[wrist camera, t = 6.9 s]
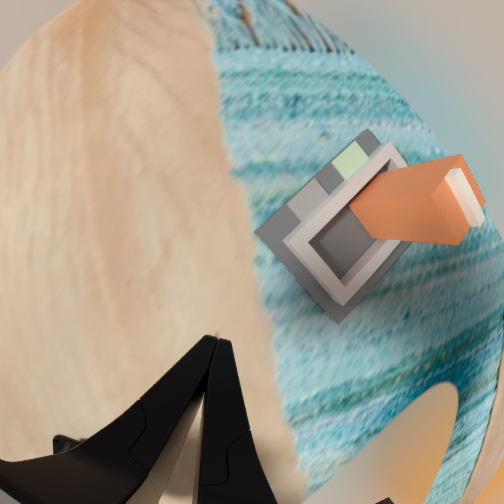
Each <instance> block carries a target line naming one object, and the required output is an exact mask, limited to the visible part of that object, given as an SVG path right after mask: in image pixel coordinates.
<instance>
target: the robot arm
mask: <svg viewBox="0 0 504 504" xmlns="http://www.w3.org/2000/svg"><path fill="white" fill-rule="evenodd" d="M204 393H205V394H204ZM203 397H204V399H203ZM202 399H203V406H202V414H201V423H200V432H199V440H198V449H197V459H196V468H195V478H194V488H193V499H192V504H278V503H277V501H276V499H275V497H274V495H273V492H272V490H271V488H270V485H269V483H268V481H267V478H266V476H265V474H264V471H263V469H262V466H261V464H260V461H259V458H258V455H257V452H256V449H255V445H254V442H253V437H252V433H251V430H250V425H249V421H248V417H247V412H246V408H245V403H244V399H243V395H242V390H241V385H240V381H239V376H238V372H237V367H236V362H235V357H234V353H233V348H232V343H231V341H230V340H226V339H222V338H219V339H218V338H217V337H215V336H211V335H204V336H203V337H202V338H201V339H200V340H199V341H198V342H197V343H196V344H195V345H194V346H193V347H192V348H191V349H190V350H189V351H188V352H187V353H186V354H185V355H184V356H183V357H182V358H181V359H180V360H179V361H178V362H177V363H176V364H175V365H174V366H173V367H172V368H170V369H169V370H168V371H167V372H166V373H165V374H164V375H163V376H162V377H161V378H160V379H159V380H158V381H157V382H156V383H155V384H154V385H153V386H152V387H151V388H150V389H149V390H148V391H147V392H146V393H144V394H143V395H142V396H141V397H140V400H137V401H136V402H135V403H134V404H133V405H132V406H131V407H129V408H128V409H127V410H126V411H125V412H124V413H123V414H121V415H120V416H119V417H118V418H116V419H115V420H114V421H112V422H111V423H110V424H108V425H107V426H106V427H104V428H103V429H101V430H100V431H98V432H97V433H95V434H94V435H93V436H91V437H90V438H88V439H87V440H85V441H84V442H82V443H81V444H78V443H75V442H72V441H70V440H67V439H65V438H62V437H60V436H54V438H53V455H49V456H44V457H39V458H34V459H29V460H24V461H17V462H9V461H4V460H1V459H0V504H158V503H159V500H160V498H161V496H162V493H163V491H164V489H165V487H166V484H167V482H168V480H169V477H170V475H171V473H172V470H173V468H174V466H175V463H176V461H177V459H178V456H179V454H180V452H181V449H182V447H183V445H184V442H185V440H186V438H187V435H188V433H189V431H190V428H191V426H192V424H193V421H194V419H195V416H196V414H197V412H198V409H199V407H200V405H201V402H202ZM57 440H58V441H57Z"/></svg>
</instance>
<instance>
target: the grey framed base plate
mask: <svg viewBox="0 0 504 504" xmlns="http://www.w3.org/2000/svg"><path fill="white" fill-rule="evenodd" d="M407 166H408V165H407V164H406V162H405V161H404V159H403V158H402V157H401V155H400V154H399V152H398V151H397V149H396V148H395V147H394V145H393V144H392V143H391V141H389V142H386V143H384V144H381V145H380V144H379V142H378V141H377V140H376V138H375V137H374V136H373V134H372V133H371V132H370V130H369V129H366V130H364V131H362V132H361V133H360V134H359V135H358V136H357V137H356V138H355V139H354V140H353V141H352V142H350V143H349V144H348V145H347V146H346V147H345V148H344V149H343V150H342V151H341V152H339V153H338V154H337V155H336V156H335V157H334V158H333V159H332V160H331V161H330V162H329V163H328V164H326V165H325V166H324V167H323V168H322V169H321V170H320V171H319V172H318V173H317V174H316V175H314V176H313V177H312V178H311V179H310V180H309V181H308V182H307V183H306V184H305V185H304V186H303V187H302V188H300V189H299V190H298V191H297V192H296V193H295V194H294V195H293V196H292V197H291V198H290V199H289V200H288V201H286V202H285V203H284V204H283V205H282V206H281V207H280V208H279V209H278V210H277V211H276V212H275V213H274V214H272V215H271V216H270V217H269V218H268V219H267V220H266V221H265V222H264V223H263V224H262V225H261V226H260V227H259V228H258V229H256V230H255V231H254V233H255V234H256V235H257V236H258V237H259V238H260V239H261V240H262V242H263V243H264V244H265V245H266V246H267V247H268V248H269V249H270V250H271V252H272V253H273V254H274V255H275V256H276V257H277V258H278V259H279V260H280V262H281V263H282V264H283V265H284V266H285V267H286V268H287V269H288V271H289V272H290V273H291V274H292V275H293V276H294V277H295V278H296V280H297V281H298V282H299V283H300V284H301V285H302V286H303V287H304V289H305V290H306V291H307V292H308V293H309V294H310V295H311V296H312V298H313V299H314V300H315V301H316V302H317V303H318V304H319V305H320V307H321V308H322V309H323V310H324V311H325V312H326V313H327V315H328V316H329V317H330V318H331V319H332V320H333V321H334V322H335V323H336V324H339V323H340V322H341V321H342V320H343V319H344V318H345V317H346V316H347V315H348V314H349V313H350V312H351V311H352V310H353V308H354V307H355V306H356V305H357V304H358V303H359V302H360V301H361V300H362V299H363V298H364V297H365V295H366V294H367V293H368V292H369V291H370V290H371V289H372V288H373V287H374V285H375V284H376V283H377V282H378V281H379V280H380V279H381V277H382V276H383V275H384V274H385V273H386V272H387V270H388V269H389V268H390V267H391V266H392V265H393V263H394V262H395V261H396V260H397V259H398V257H399V256H400V255H401V254H402V253H403V251H404V250H405V249H406V248H407V247H408V245H409V244H410V243H411V242H412V241H401V240H389V239H376V238H372V237H371V236H370V234H369V233H368V232H367V230H366V229H365V228H364V226H363V225H362V224H361V222H360V221H359V220H358V218H357V217H356V216H355V214H354V213H353V212H352V210H351V209H350V208H349V206H348V205H347V204H348V203H349V202H350V201H351V200H352V199H353V198H354V197H355V196H356V195H357V194H358V193H359V192H360V191H361V190H362V189H363V188H364V187H365V186H366V185H367V184H368V183H369V182H370V181H371V180H372V179H373V178H374V177H375V176H376V175H377V174H379V173H383V172H387V171H391V170H395V169H399V168H403V167H407Z"/></svg>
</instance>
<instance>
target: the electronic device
mask: <svg viewBox="0 0 504 504" xmlns="http://www.w3.org/2000/svg"><path fill="white" fill-rule="evenodd" d="M376 504H394V503H393V502H392V501H391V500H390V498H386V499H384V500H382V501H380V502H378V503H376Z"/></svg>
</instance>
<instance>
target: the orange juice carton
mask: <svg viewBox="0 0 504 504" xmlns="http://www.w3.org/2000/svg"><path fill="white" fill-rule="evenodd" d="M484 203H485V200H484V197H483V195H482V193H481V191H480V189H479V187H478V185H477V183H476V181H475V179H474V177H473V175H472V173H471V171H470V169H469V167H468V166H467V164H466V162H465V160H464V158H463V156H462V155H461V154H460V155H455V156H451V157H446V158H442V159H437V160H433V161H429V162H424V163H420V164H416V165H411V166H407V167H403V168H399V169H395V170H391V171H387V172H383V173H379V174H377V175H376V176H375V177H374V178H373V179H372V180H371V181H370V182H369V183H368V184H367V185H366V186H365V187H364V188H363V189H362V190H361V191H360V192H359V193H358V194H357V195H356V196H355V197H354V198H353V199H352V200H351V201H350V202H349V203H348V204H347V205H348V206H349V208H350V209H351V210H352V212H353V213H354V214H355V216H356V217H357V218H358V220H359V221H360V222H361V224H362V225H363V226H364V228H365V229H366V230H367V232H368V233H369V234H370V236H371V237H372V238H376V239H389V240H401V241H413V242H425V243H437V244H448V245H459V244H460V242H461V241H462V239H463V238H464V236H465V235H466V233H467V232H468V230H469V228H470V227H481V225H482V223H483V222H484V220H485V216H484V214H483V211H482V207H483V205H484Z"/></svg>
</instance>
